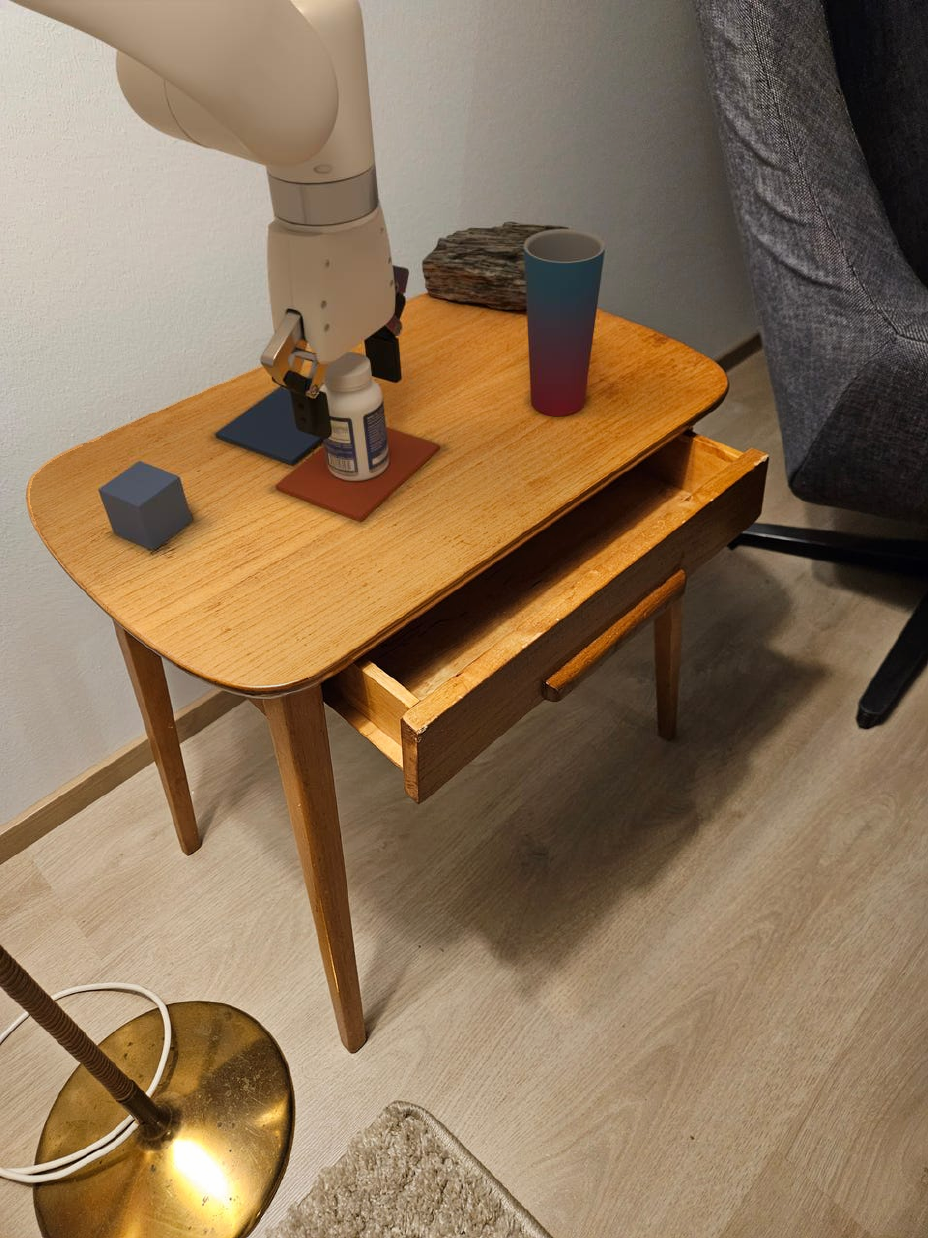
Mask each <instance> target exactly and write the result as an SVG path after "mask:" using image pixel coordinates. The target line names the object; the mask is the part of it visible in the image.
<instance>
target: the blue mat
mask: <svg viewBox="0 0 928 1238" xmlns="http://www.w3.org/2000/svg"><path fill="white" fill-rule="evenodd" d="M303 376H304V375H303ZM304 377H305V378H307V379H308V376H304ZM322 385H323V382H322ZM214 435H215V438H216V439H219V440H222V441H225V442H226V443H229V444H233V445H235V446H237V447H241V448H244V449H247V450H249V451H251V452H254V453H257V454H261V455H263V456H266V457H268V458H271V459H273V460H277V461H279V462H282V463H285V464H287V465H291V466H294V465H295V464H296V463H297V462H299V461H300V460H301V459H302V458H304V457H305V456H306V455H308V454H309V453H310V452H311V451H312V450H314V449H315V448H316V447H318V445H320V444H321V443H322V442H324V440H323V439H322V438H319V437H316V436H313V435H311V434H308V433H305V432H302V431H299V430H298V429H297V427H296V422H295V417H294V411H293V405H292V399H291V394H290V391H289V390H285V389H284V388H283V387H282V386H280V385H279V387H278V388H276V389H275V390H273V391H272V392H271V393H269V394H268V395H266V396H264V397H263V398H262V399H261V400H259V401H258V402H256V403H255V404H254V405H252V406H251V407H249V408H248V409H247V410H245V411H244V412H243V413H241V414H240V415H238V416H237V417H236V418H234V419H233V420H232V421H230V422H229V423H227V424H226V425H225V426H223V427H222V428H220V429H219V430H217V431H216V432H214Z"/></svg>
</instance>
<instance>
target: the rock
mask: <svg viewBox="0 0 928 1238" xmlns="http://www.w3.org/2000/svg"><path fill="white" fill-rule="evenodd" d="M554 229H570V228H569V227H568V226H566V225H555V224H533V223H527V224H525V223H522V222H516V221H505V222H504V223H503V224H502V225H501V226H493V227H469V228H466V229H464V230H456V231H454V232H453V233H452V234H448V235H447V236H446V237H439V238H438V240H437V243H436V246H435V247H434V249H433V250H431V252H430V253H428V254H427V255H426V256H425V258H423V259H422V262H421V267H422V268H421V269H422V273H423V278H424V280H425V281H424V288H425V289H426V291H427V294H428V295H429V297H436V298H439V299H446V300H449V301H456V302H457V303H459V304H460V303H466V304H467V303H472V304H482V305H486V306H487V307H489V308H490V309H495V310H500V311H507V310H520V311H521V310H527V305H526V284H525V263H524V243H525V241H526V240H527V239H528V238H529V237H531V236H532V235H534V234H537V233H540V232H543V231H548V230H554Z"/></svg>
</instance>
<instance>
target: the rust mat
mask: <svg viewBox="0 0 928 1238" xmlns="http://www.w3.org/2000/svg"><path fill="white" fill-rule="evenodd" d="M386 432H387V441H388V450H389V463H388V466H387V468H386V469H385V470H384V471H383V472H382V473H381V474H379V475H378V476H376V477H373V478H371V479H367V480H363V481H346V480H343V479H340V478H338V477H336V476H334V475H333V474H332V473H331V472H330V470H329V468H328V465H327V459H326V453H325V447H324V445H323V446H321V447H320V448H319V449H317V450H316V451H315V452H314V453H313V454H312V455H310V456H309V457H308V458H307V459H305V460H304V461H303V462H302V463H301V464H299V465H298V466H296V468H294V469H293V470H292V471H290V472H289V473H288V474H287V475H286V476H285V477H284V478H282V479H281V480H279V481H278V482H277V483H276V484H275V485H274V486H275V490H276V491H277V492H281V493H283V494H286V495H289V496H292V497H294V498H296V499H299V500H302V501H305V502H306V503H310V504H312V505H315V506H318V507H321V508H322V509H326V510H328V511H331V512H334V513H336V514H339V515H341V516H344V517H346V518H349V519H352V520H354V521H358V522H360V523H361V522H363V520H365V519H366V518H367V517H368V516H369V515H370V514H371V513H372V512H373V511H375V510H376V509H377V508H378V507H379V506H381V504H382V503H383V502H384V501H385V500H387V499H388V498H389V497H390V496H391V495H392V494H393V493H394V492H395V491H396V490H397V489H399V488H400V487H401V486H402V485H403V484H404V483H405V482H407V480H408V479H409V478H410V477H412V475H413V474H415V473H416V472H417V471H418V470H419V469H420V468H421V467H422V466H423V465H425V464H426V463H427V462H428V461H429V460H430V459H431V458H432V457H433V456H435V454H437V452H439V451H440V449H441V445H440V444H439V443H437V442H433V441H430V440H426V439H423V438H422V437H421V438H420V437H418V436H414V435H411V434H408V433H405V432H402V431H399V430H396V429H393V428H390V427H387V426H386Z"/></svg>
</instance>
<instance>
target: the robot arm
mask: <svg viewBox="0 0 928 1238" xmlns="http://www.w3.org/2000/svg"><path fill="white" fill-rule="evenodd" d="M9 1H10V2H12V3H13V4H16V5H18V6H21V7H23V8H25V9H28V10H30V11H32V12H35V13H37V14H40V15H42V16H44V17H47V18H49V19H51V20H54V21H56V22H58V23H61V24H64V25H66V26H69V27H70V28H73V29H76V30H77V31H79V32H82V33H83V34H87V36H91V37H93V38H95V39H96V40H98V41H100V42H102V43H104V44H106V45H108V46H109V47H111V48H113V49H115V50H116V53H115V54H116V55H115V72H116V78H117V81H118V85H119V88H120V90H121V92H122V94H123V97H124V98H125V100H126V102H127V104H128V105H129V107H130V108H131V109H132V110H133V112H134V113H135V114H136V115H137V116H138V117H139V118H141V120H142V121H144V122H145V123H146V124H148V126H151V127H152V128H153V129H155V130H156V131H159V132H160V133H162V134H164V135H167V136H169V137H172V138H174V139H178V140H180V141H185V142H187V143H190V144H193V145H196V146H198V147H202V148H204V149H205V148H206V149H211V150H215V151H218V152H221V153H224V154H227V155H231V156H234V157H237V158H240V159H243V160H246V161H249V162H252V163H255V164H259V165H261V166H265V170H266V177H267V183H268V188H269V189H268V190H269V195H270V201H271V206H272V213H273V219H274V220H273V221H271V222H270V223H269V224H268V227H267V243H266V244H267V246H266V259H267V261H266V263H267V265H266V266H267V281H268V293H269V305H270V311H271V320H272V321H271V322H272V326H273V327H272V328H273V335H272V337H271V339H270V340H269V342H268V343H267V345H266V347H265V348H264V349H263V351H262V353H261V355H260V357H259V358H260V359H259V360H260V364H261V366H262V367H263V368H264V370H265V371H266V372H267V373H268V375H269V377H271V381H272V382H273V383H274V384H276V385H278V386H279V387H280V386H282V387H283V388H284V389H285V390H289V391H290V394H291V399H292V405H293V411H294V417H295V422H296V427H297V429H298V430H299V431H302V432H305V433H308V434H311V435H313V436H316V437H319V438H322V439H325V440H326V439H328V438H329V437H330V436H331V435H332V428H331V421H330V414H329V407H328V400H327V395H326V393H325V392H322V391H320V389H321V386H322V382H323V379H324V376H325V372H326V369H327V366H328V364H329V363H332V362H334V361H335V360H337V359H338V358H340V357H341V356H343V355H344V354H346V353H347V352H351V351H352V350H353V349H354V348H356V347H357V346H359V345H360V344H362V342H363V343H364V351H365V356H366V357H367V358H368V359H369V360H370V365H371V372H372V378H373V377H374V378H376V379H379V380H383V381H386V382H389V383H393V384H398V383H400V382H401V380H403V376H402V375H403V374H402V363H401V351H400V350H401V349H400V340H399V339H400V338H399V336H400V335H401V334H402V331H403V323H402V321H401V318H402V315H403V312H404V310H405V308H406V303H407V298H406V296H405V295H404V294H406V292H407V286H408V281H409V276H410V271H409V268H407V267H404V266H400V265H396V264H393V259H392V252H391V245H390V240H389V239H390V238H389V234H388V229H387V224H386V221H385V216H384V211H383V207H382V204H381V201H380V200H381V199H380V198H379V190H378V189H379V188H378V179H377V166H376V154H375V152H376V151H375V142H374V130H373V121H372V110H371V98H370V96H371V95H370V86H369V85H370V84H369V75H368V64H367V63H368V62H367V52H366V51H367V49H366V40H365V27H364V19H363V13H362V8H361V4H360V1H359V0H9ZM308 345H309V348H310V350H311V351H309V350H307V347H308ZM305 361H308V362H312V363H311V367H310V370H309V373H308V376H307V377H308V379H307V378H305V377H306V376H305V377H304V375H302V374H301V372H302V370H303V366H304V362H305Z"/></svg>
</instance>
